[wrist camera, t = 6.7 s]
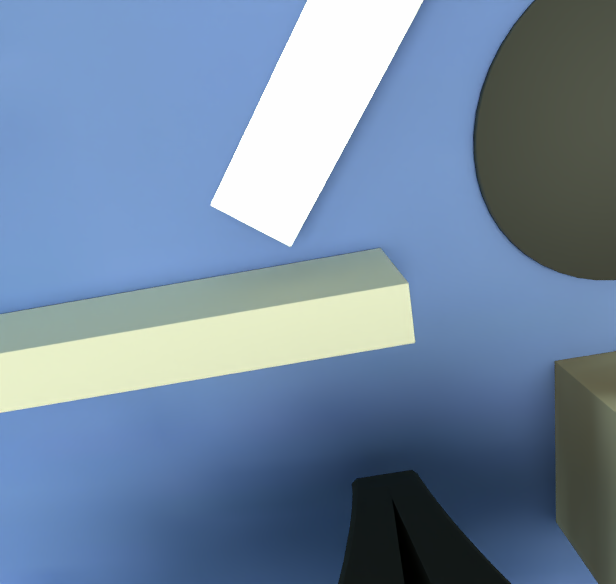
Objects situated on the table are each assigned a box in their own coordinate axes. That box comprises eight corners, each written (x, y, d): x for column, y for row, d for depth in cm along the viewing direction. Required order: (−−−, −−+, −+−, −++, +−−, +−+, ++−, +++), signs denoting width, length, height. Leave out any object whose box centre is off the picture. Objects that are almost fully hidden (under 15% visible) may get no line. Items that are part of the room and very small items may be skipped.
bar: (455, 318, 10) (482, 346, 9) (223, 194, 9) (210, 205, 8) (800, -196, 8) (915, -273, 6) (525, -436, 7) (588, -589, 5)
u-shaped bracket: (-31, 707, 13) (-102, 831, 11) (-234, 354, 10) (-399, 422, 8) (430, 638, 13) (461, 751, 11) (380, 247, 10) (408, 283, 7)
